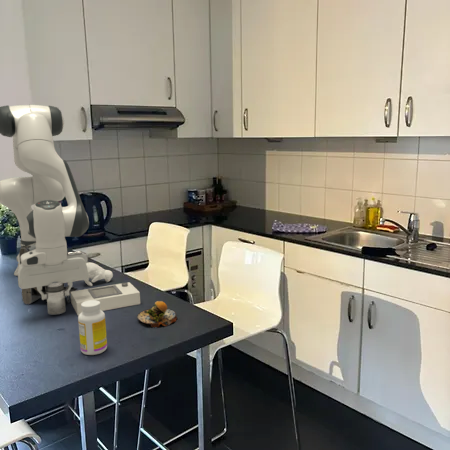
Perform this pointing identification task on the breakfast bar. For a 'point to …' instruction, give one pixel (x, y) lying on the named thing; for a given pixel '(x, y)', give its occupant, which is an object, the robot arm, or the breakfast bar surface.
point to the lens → (55, 298)
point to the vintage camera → (32, 293)
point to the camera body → (107, 296)
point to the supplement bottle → (92, 328)
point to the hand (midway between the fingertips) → (55, 297)
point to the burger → (158, 315)
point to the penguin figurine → (97, 273)
